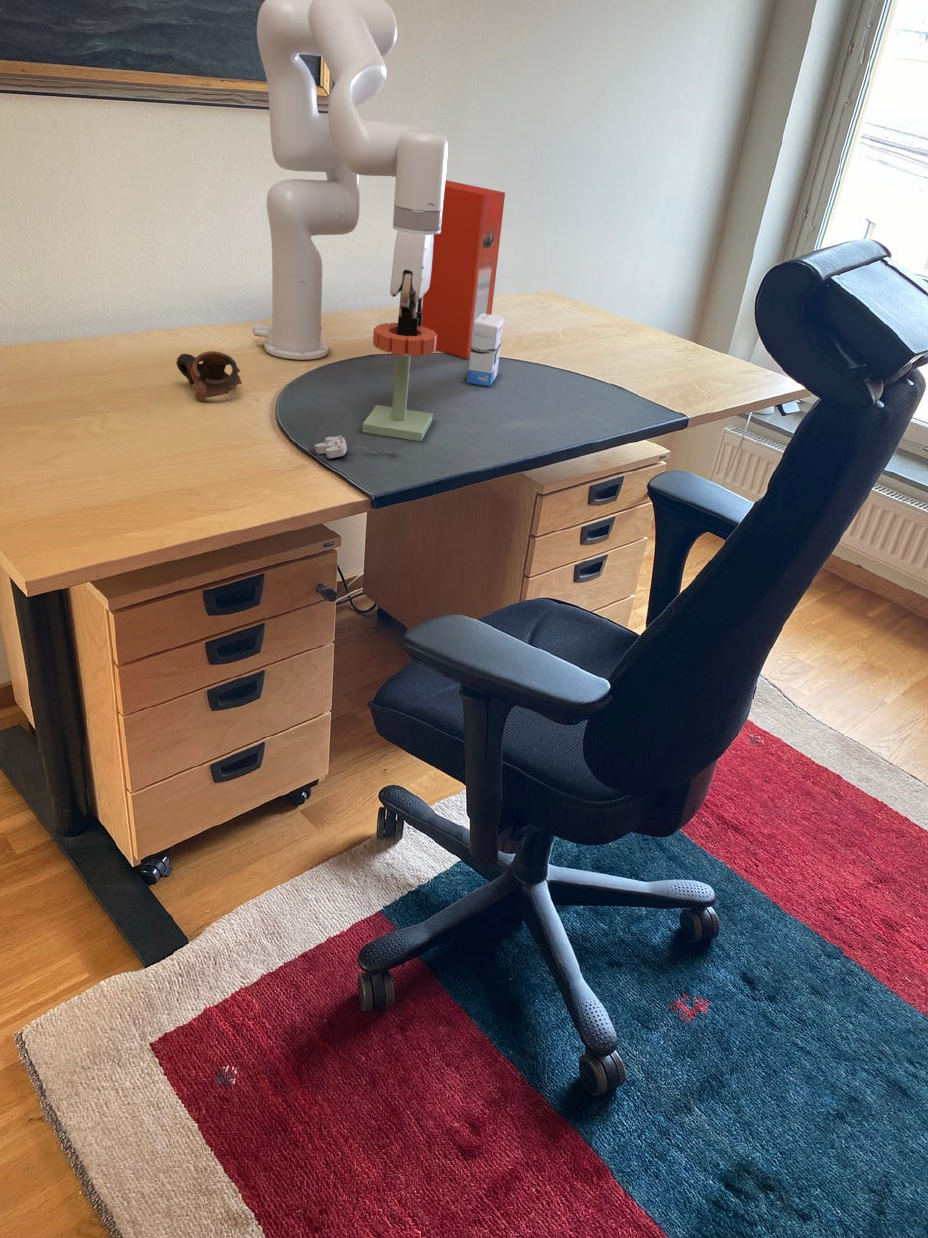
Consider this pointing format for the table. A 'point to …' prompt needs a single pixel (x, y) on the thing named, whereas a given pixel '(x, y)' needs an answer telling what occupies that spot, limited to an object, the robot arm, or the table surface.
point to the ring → (404, 340)
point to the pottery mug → (209, 373)
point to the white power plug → (333, 447)
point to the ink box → (485, 349)
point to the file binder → (463, 265)
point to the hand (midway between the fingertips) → (408, 337)
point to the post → (398, 410)
